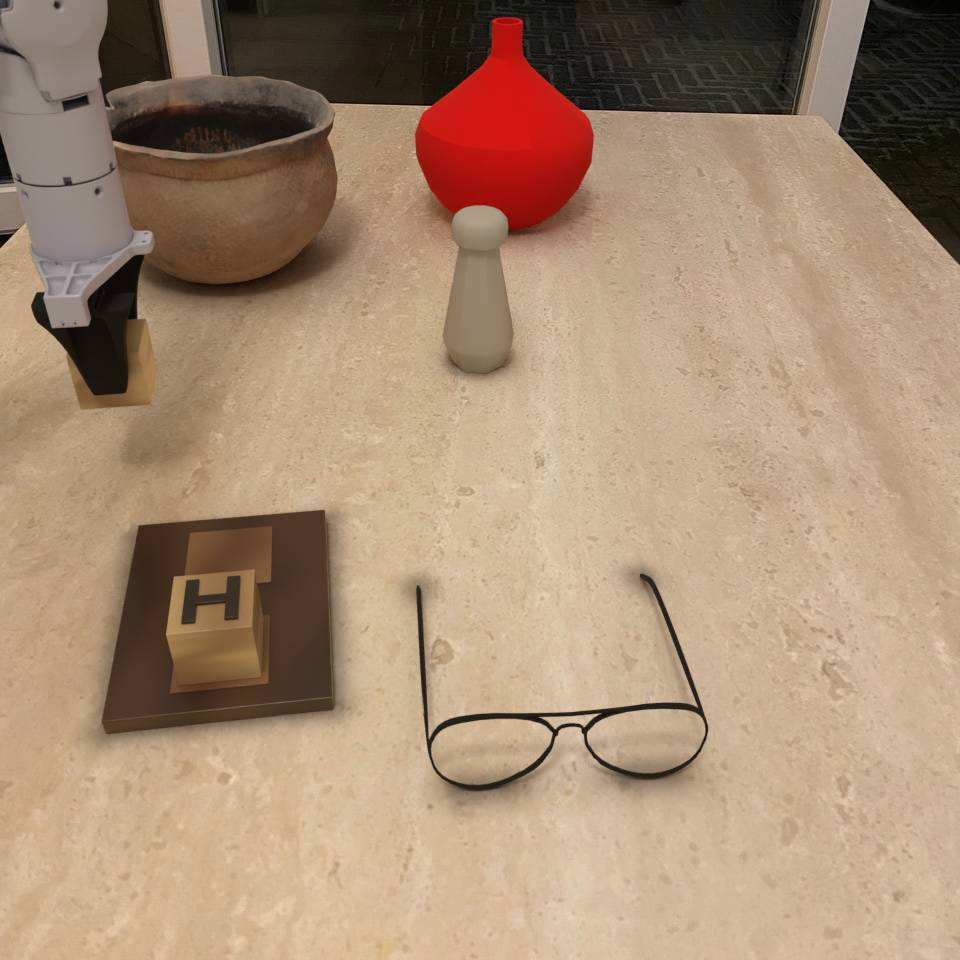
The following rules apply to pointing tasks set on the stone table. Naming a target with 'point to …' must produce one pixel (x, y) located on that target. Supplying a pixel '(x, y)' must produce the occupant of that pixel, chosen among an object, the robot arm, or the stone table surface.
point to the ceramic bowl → (224, 172)
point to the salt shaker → (478, 292)
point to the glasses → (535, 716)
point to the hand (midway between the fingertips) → (115, 371)
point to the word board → (286, 628)
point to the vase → (505, 138)
